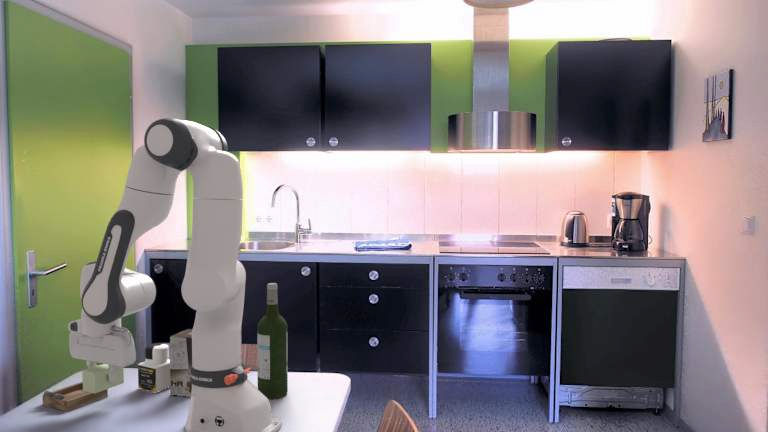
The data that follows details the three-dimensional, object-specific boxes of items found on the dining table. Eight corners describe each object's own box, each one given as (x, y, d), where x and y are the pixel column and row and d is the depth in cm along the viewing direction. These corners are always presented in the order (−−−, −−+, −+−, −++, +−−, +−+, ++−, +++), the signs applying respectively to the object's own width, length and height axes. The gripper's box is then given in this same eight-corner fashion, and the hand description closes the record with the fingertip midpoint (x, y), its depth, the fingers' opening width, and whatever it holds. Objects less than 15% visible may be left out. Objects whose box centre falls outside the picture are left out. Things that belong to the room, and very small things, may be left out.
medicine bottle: (137, 389, 151) (137, 346, 150) (159, 381, 157) (158, 340, 156) (155, 393, 147) (155, 349, 147) (176, 385, 154) (176, 343, 153)
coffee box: (191, 397, 144) (190, 337, 144) (169, 395, 146) (168, 336, 145) (208, 385, 153) (208, 329, 153) (188, 384, 155) (187, 327, 154)
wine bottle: (293, 391, 149) (293, 282, 148) (276, 401, 142) (275, 287, 141) (269, 387, 152) (269, 280, 151) (251, 396, 145) (250, 284, 144)
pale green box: (123, 383, 139) (123, 363, 139) (95, 393, 132) (94, 373, 132) (111, 380, 141) (111, 361, 141) (82, 390, 134) (82, 370, 134)
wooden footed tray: (107, 396, 145) (107, 382, 145) (66, 412, 134) (65, 397, 134) (82, 390, 149) (82, 377, 149) (40, 405, 139) (40, 390, 139)
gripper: (141, 325, 134) (143, 381, 135) (86, 318, 143) (88, 370, 144) (119, 331, 128) (121, 389, 129) (63, 323, 137) (65, 377, 138)
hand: (103, 379), depth 136 cm, fingers closed on pale green box, 4 cm apart
